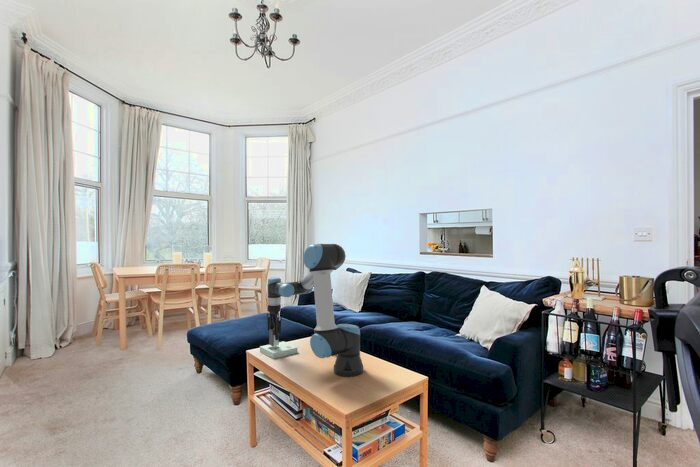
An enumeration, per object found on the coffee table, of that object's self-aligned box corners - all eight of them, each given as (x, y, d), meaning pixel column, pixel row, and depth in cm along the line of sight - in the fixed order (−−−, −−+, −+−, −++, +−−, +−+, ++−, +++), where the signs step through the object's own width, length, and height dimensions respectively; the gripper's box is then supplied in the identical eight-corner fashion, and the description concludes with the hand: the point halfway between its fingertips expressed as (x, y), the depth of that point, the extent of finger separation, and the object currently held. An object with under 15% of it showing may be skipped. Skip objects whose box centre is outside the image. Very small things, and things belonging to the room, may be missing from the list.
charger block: (278, 344, 206) (278, 329, 206) (272, 346, 203) (272, 330, 203) (275, 343, 209) (275, 327, 209) (269, 344, 206) (269, 329, 206)
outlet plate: (297, 352, 207) (297, 347, 207) (273, 358, 196) (273, 353, 197) (283, 346, 219) (283, 341, 219) (259, 351, 209) (259, 346, 209)
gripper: (287, 305, 202) (287, 346, 202) (272, 301, 215) (272, 339, 215) (275, 307, 197) (275, 349, 197) (261, 302, 210) (261, 342, 210)
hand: (273, 344), depth 206 cm, fingers closed on charger block, 4 cm apart
